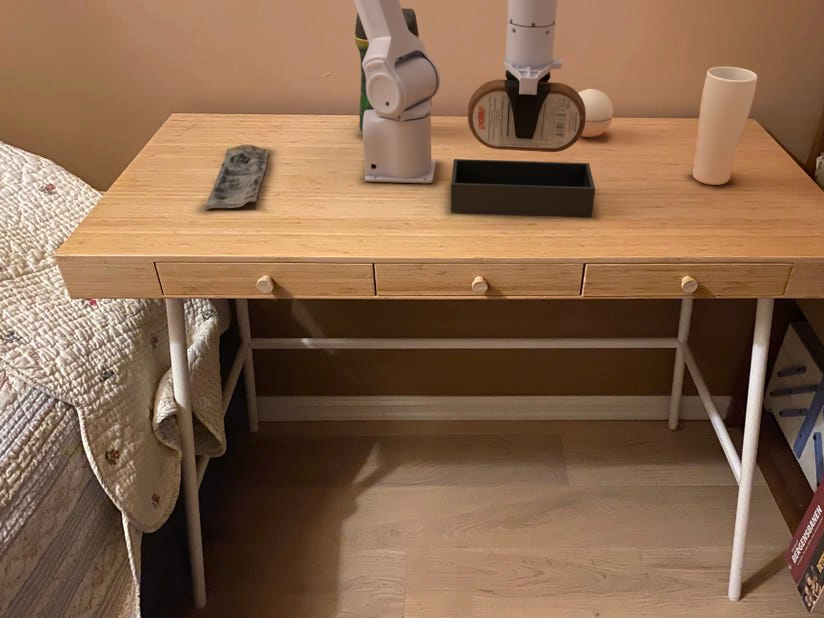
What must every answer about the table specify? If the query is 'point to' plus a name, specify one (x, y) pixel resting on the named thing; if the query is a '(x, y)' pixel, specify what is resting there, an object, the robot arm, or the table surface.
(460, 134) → the table surface
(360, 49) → the coffee jar
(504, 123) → the tin
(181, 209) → the table surface
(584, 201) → the bin
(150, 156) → the table surface
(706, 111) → the drinking glass
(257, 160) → the driftwood
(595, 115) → the white ball
